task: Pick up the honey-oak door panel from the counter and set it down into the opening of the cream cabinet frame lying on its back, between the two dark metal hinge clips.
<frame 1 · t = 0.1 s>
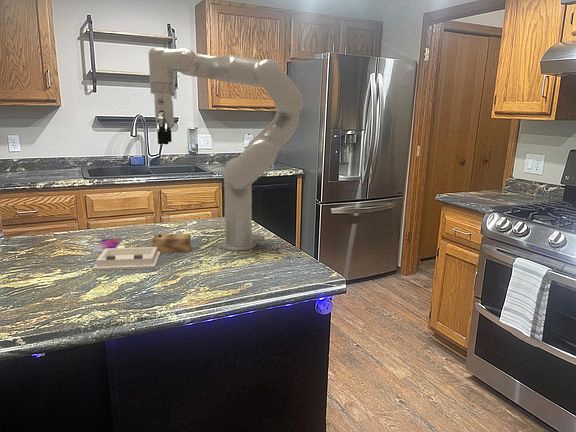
hand: (165, 143, 142), 37 cm above the worktop, tool pointing down, fingers open, 9 cm apart
smartphone: (107, 247, 151), on the worktop
door panel: (172, 250, 149), on the worktop
cabinet frame: (128, 261, 137), on the worktop
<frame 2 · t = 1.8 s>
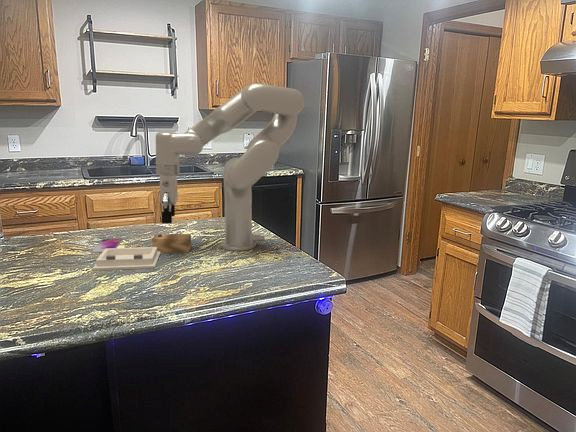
hand: (168, 219, 146), 11 cm above the worktop, tool pointing down, fingers open, 9 cm apart
nothing on the worktop moved.
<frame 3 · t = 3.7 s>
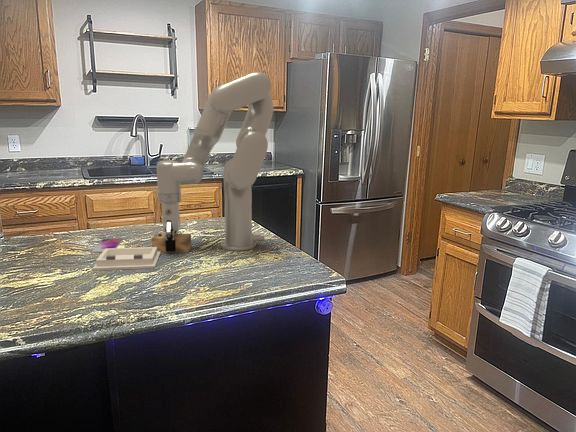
hand: (171, 247, 149), 1 cm above the worktop, tool pointing down, fingers closed on door panel, 6 cm apart
door panel: (172, 249, 149), on the worktop, touching gripper
everything else where it was.
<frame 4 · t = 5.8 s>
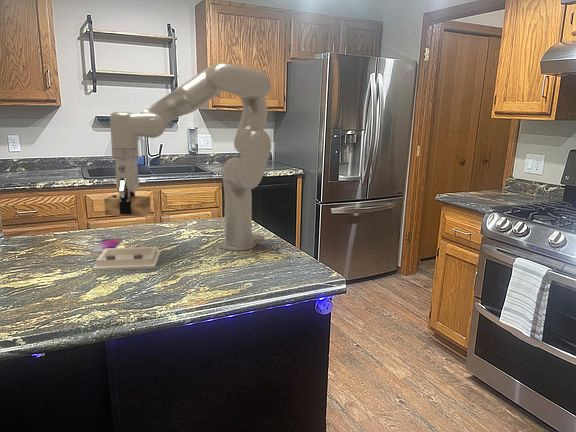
hand: (128, 211, 134), 16 cm above the worktop, tool pointing down, fingers closed on door panel, 6 cm apart
door panel: (128, 213, 134), point 16 cm above the worktop, touching gripper
everything else where it was.
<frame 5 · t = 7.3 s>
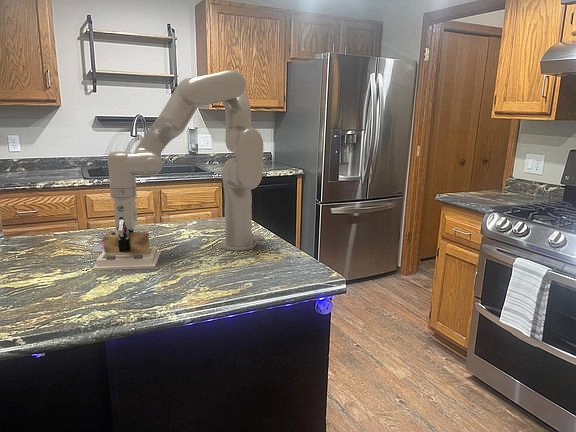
hand: (127, 247, 135), 5 cm above the worktop, tool pointing down, fingers closed on door panel, 6 cm apart
door panel: (127, 249, 136), point 4 cm above the worktop, touching gripper
everything else where it was.
when the fingers open (3 cm above the worktop, at t = 8.4 s): door panel drops 2 cm, resting on cabinet frame.
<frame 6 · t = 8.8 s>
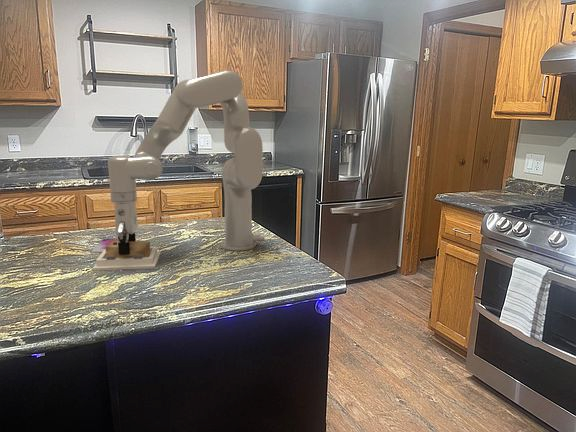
hand: (127, 249, 136), 4 cm above the worktop, tool pointing down, fingers open, 9 cm apart
door panel: (129, 259, 137), point 1 cm above the worktop, touching cabinet frame
everything else where it was.
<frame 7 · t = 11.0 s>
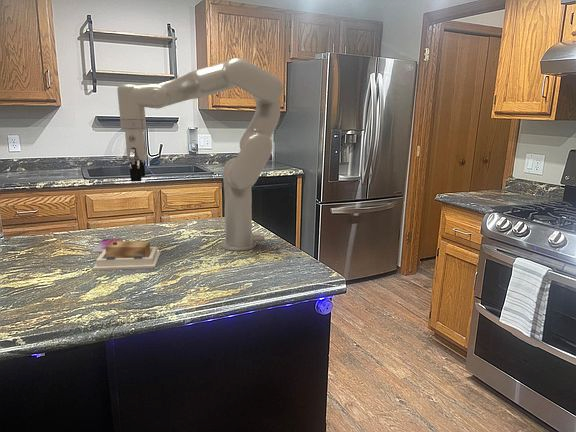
hand: (138, 178, 139), 25 cm above the worktop, tool pointing down, fingers open, 9 cm apart
nothing on the worktop moved.
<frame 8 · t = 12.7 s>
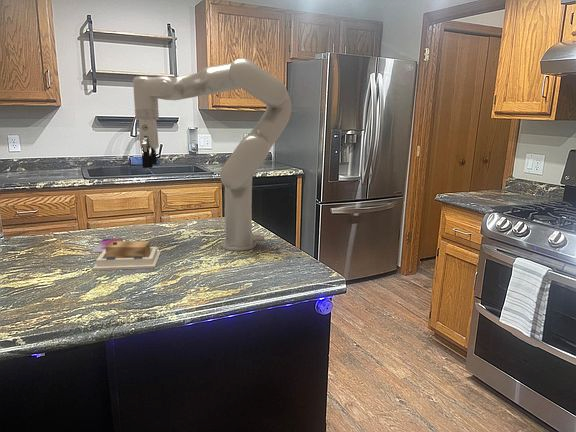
hand: (149, 165, 148), 28 cm above the worktop, tool pointing down, fingers open, 9 cm apart
nothing on the worktop moved.
at the end: door panel 0.2 cm off-centre on the cabinet frame, point 0.8 cm above the cabinet frame's base; door panel tilted 0°; the gripper is holding nothing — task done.
